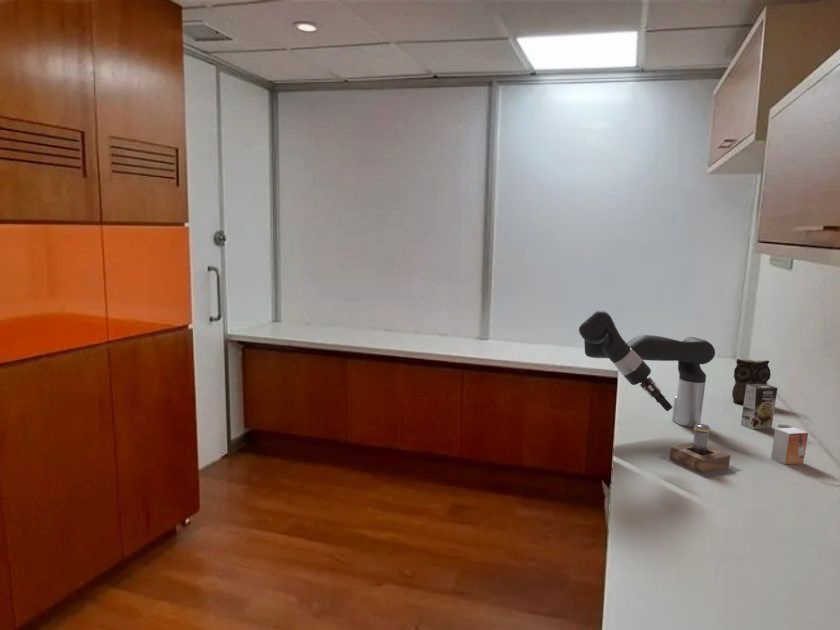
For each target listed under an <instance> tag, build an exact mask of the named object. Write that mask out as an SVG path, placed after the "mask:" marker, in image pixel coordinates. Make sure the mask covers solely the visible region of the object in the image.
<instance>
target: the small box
mask: <svg viewBox="0 0 840 630" xmlns="http://www.w3.org/2000/svg"><path fill="white" fill-rule="evenodd" d="M808 436H809V433H808V432H807V431H805V430H802V429H799V428H797V427H781V428H777V427H776V428H774V435H773V442H772V447H771V448H772V449H771V454H770V458H771V459H772V460H774V461H777V462H778V463H780V464H783V465H792V464H793V465H795V464H796V465H797V464H799V465H800V464H804V462H805V455H806V448H807V443H808Z"/></svg>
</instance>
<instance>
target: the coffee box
mask: <svg viewBox="0 0 840 630" xmlns="http://www.w3.org/2000/svg"><path fill="white" fill-rule="evenodd" d="M777 393H778V387H776V386H773V385H770V384H767V385H766V384H746V391H745V398H744V405H742V414H741V420H740V425H741V426H744V427H747V428H749V429H752V430H766V429H767V430H768V429H772V428H773V422H774V415H775V409H776V401H777Z"/></svg>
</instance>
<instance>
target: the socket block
mask: <svg viewBox="0 0 840 630" xmlns="http://www.w3.org/2000/svg"><path fill="white" fill-rule="evenodd" d="M692 449H693V442H688V443H683V444H678V445H672V446H670V452H669V454H670V458H669V459H671V460H674V461H676V462H678V463H680V464H683V465H685V466H687V467H689V468H691V469H694V470H696V471H698V472H700V473H706V472H711V471H715V470H720V469H724V468H729V465H730V459H731V454H728V453H726V452H723V451H722V450H718V449H716V448H713V447H711V446H708V445H707V453H706V455H699V454H697V453H695V452H692Z"/></svg>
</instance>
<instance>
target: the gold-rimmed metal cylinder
mask: <svg viewBox="0 0 840 630" xmlns="http://www.w3.org/2000/svg"><path fill="white" fill-rule="evenodd" d="M693 430H694V432H693V442H692V443H693V449H692V452H695V453H697V454H699V455H706V453H707V446H708V442H709V436H710V432H711V428H710V426H709V425H707V424H704V423H700V424H695V426H694V427H693Z"/></svg>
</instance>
